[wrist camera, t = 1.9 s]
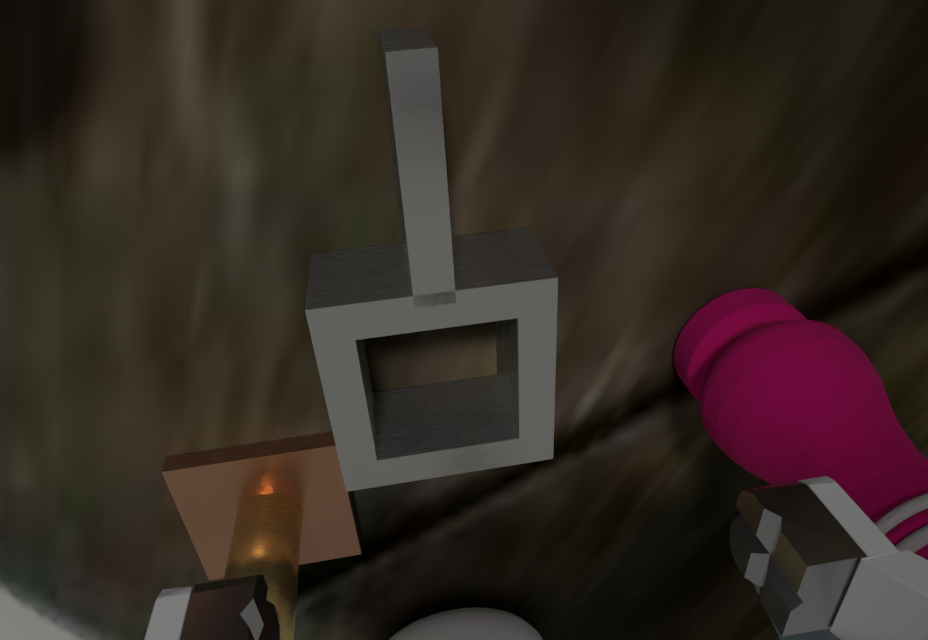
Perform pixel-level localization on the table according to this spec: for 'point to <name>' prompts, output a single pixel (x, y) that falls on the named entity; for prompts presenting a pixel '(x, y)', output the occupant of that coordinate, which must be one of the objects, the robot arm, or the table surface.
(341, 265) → the steel link
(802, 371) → the pepper mill
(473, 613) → the flower in vase
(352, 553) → the post
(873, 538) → the robot arm
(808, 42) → the table surface
